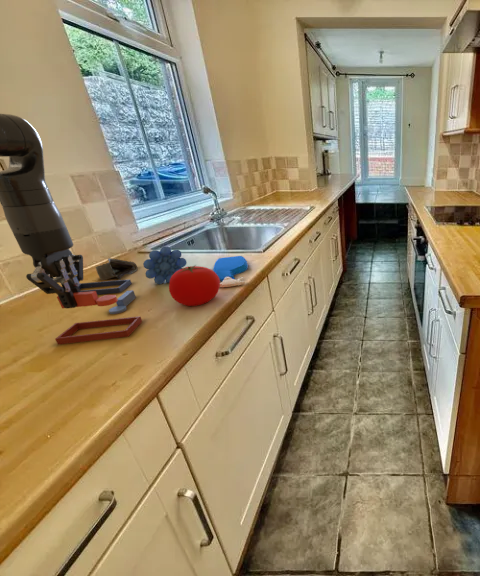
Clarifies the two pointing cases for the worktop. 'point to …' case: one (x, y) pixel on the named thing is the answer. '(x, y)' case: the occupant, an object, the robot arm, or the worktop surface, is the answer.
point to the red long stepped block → (92, 299)
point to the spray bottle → (230, 270)
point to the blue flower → (163, 264)
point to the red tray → (67, 337)
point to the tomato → (194, 285)
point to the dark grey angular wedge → (115, 269)
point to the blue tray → (123, 284)
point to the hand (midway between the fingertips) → (74, 304)
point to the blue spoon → (123, 302)
